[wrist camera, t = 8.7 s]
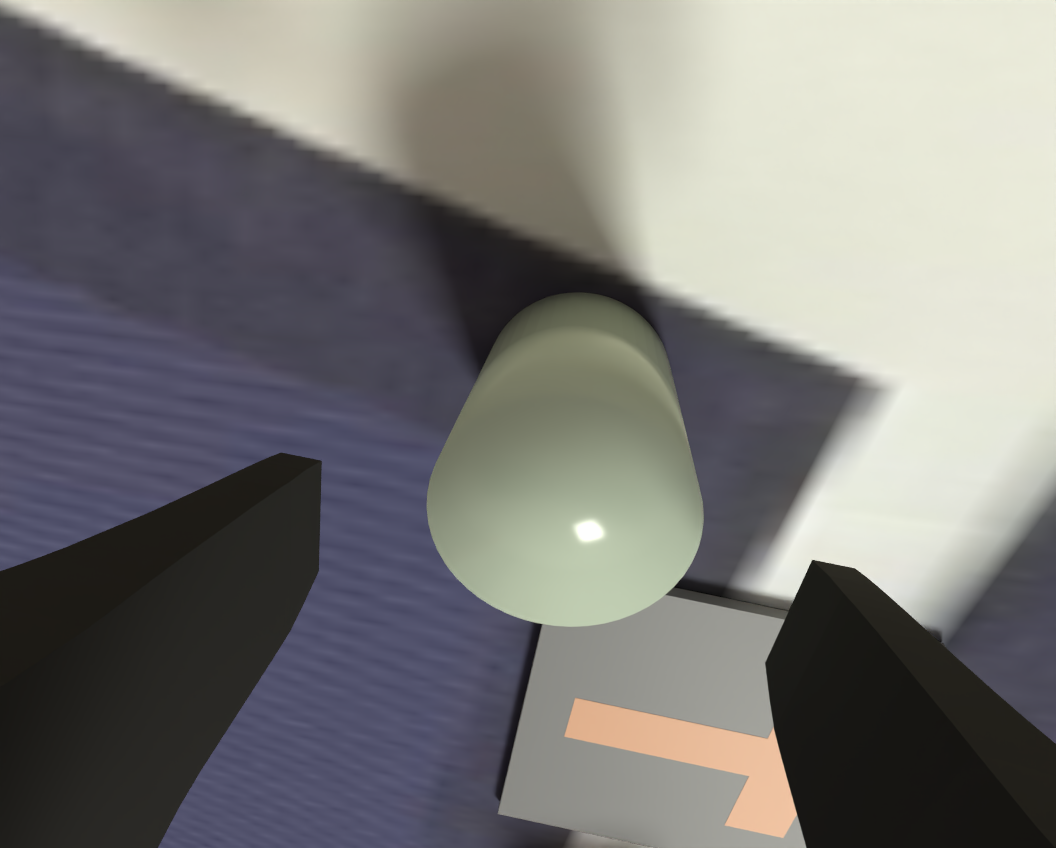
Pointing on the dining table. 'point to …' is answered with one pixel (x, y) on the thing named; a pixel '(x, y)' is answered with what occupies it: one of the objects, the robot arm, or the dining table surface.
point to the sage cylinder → (569, 469)
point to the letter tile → (656, 729)
